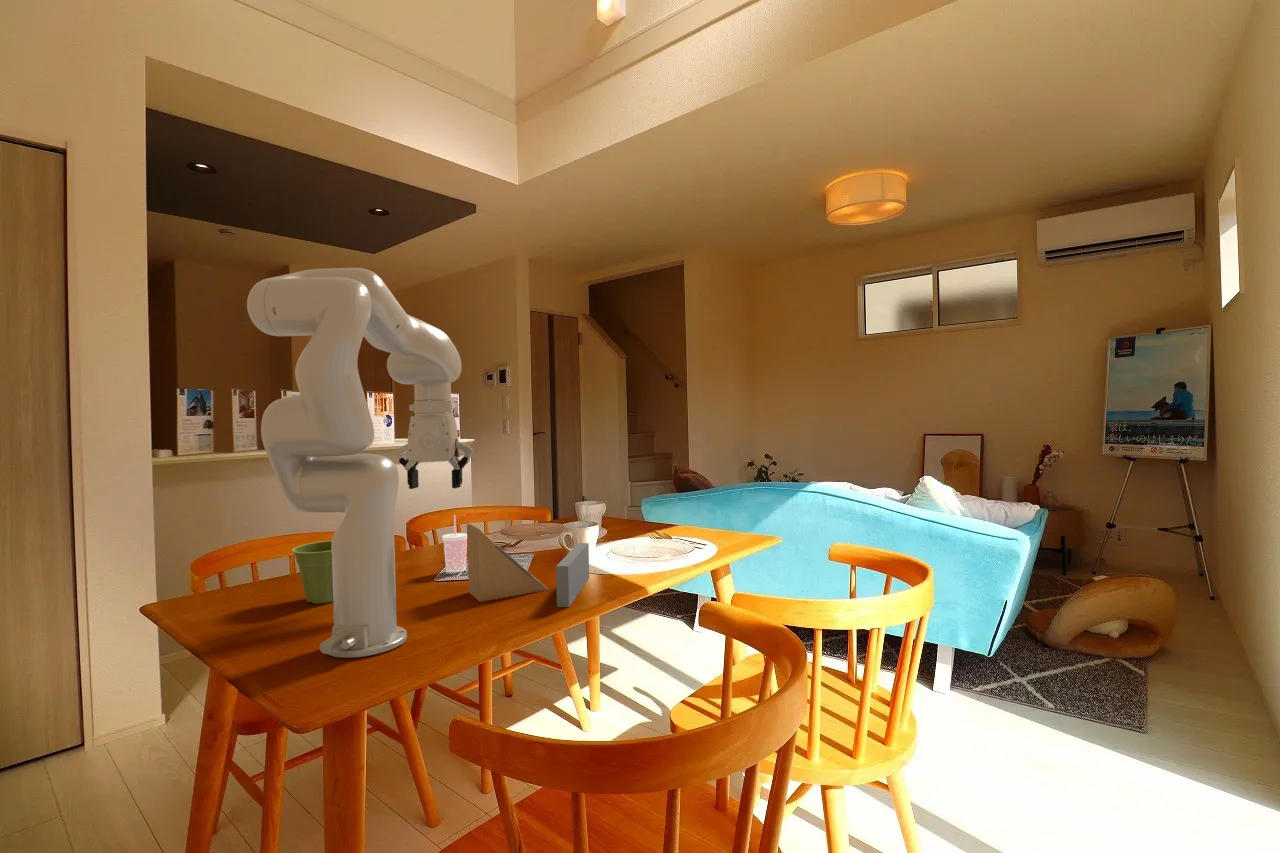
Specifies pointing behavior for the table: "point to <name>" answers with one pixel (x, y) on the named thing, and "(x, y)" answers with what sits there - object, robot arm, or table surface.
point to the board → (572, 574)
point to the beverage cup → (455, 550)
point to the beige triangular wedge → (495, 570)
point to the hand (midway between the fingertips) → (435, 488)
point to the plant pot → (316, 570)
